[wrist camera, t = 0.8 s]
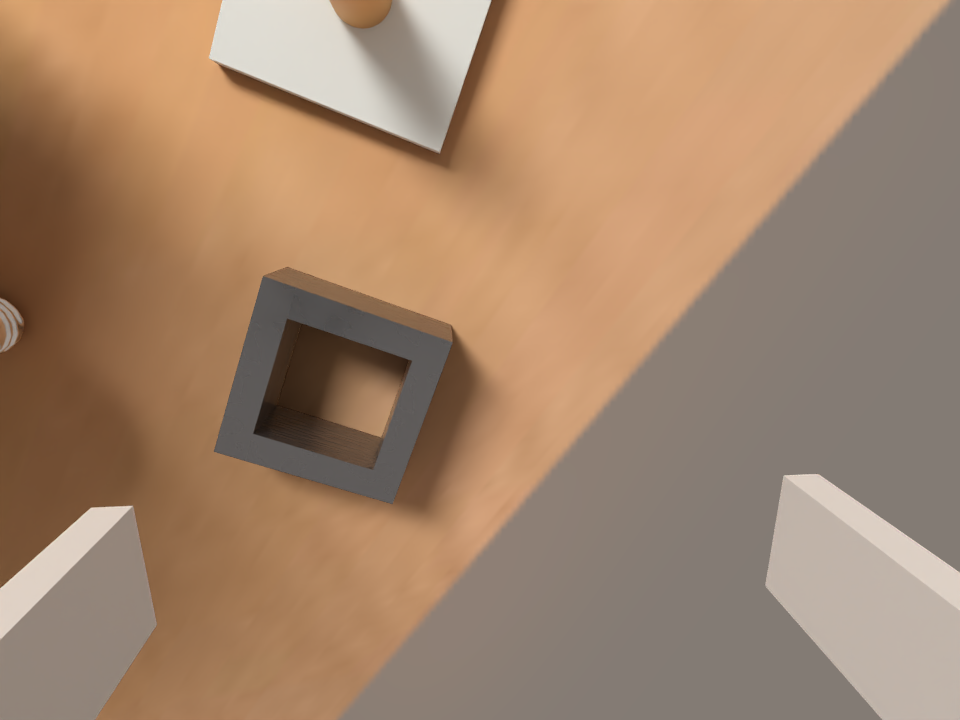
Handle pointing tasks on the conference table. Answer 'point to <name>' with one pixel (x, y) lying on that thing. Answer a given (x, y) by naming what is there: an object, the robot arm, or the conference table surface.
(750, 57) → the conference table surface
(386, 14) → the keeper
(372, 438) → the grey square frame
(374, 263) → the conference table surface
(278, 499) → the conference table surface
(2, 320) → the light bulb
